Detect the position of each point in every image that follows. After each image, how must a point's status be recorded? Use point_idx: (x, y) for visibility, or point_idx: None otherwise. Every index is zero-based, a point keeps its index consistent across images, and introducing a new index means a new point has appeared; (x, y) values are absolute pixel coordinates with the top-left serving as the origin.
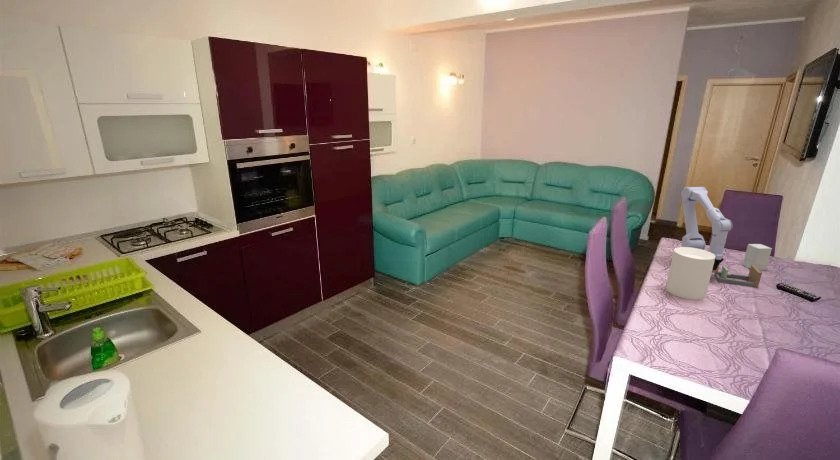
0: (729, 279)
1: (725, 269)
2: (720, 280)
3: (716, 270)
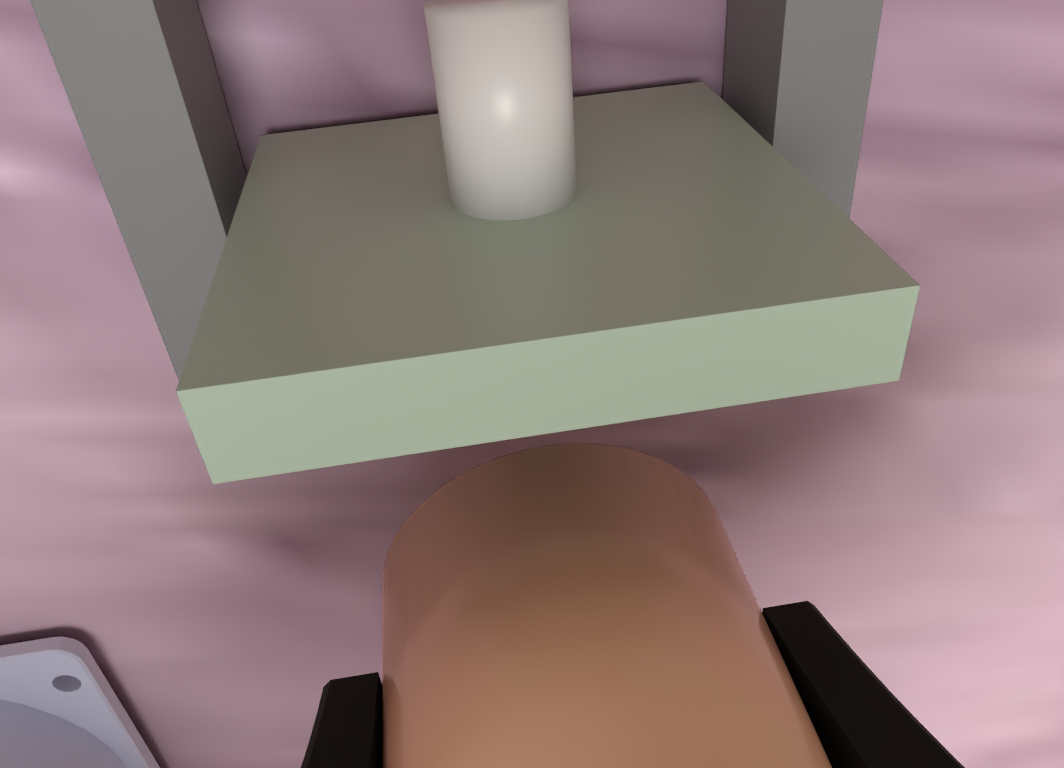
0: (846, 27)
1: (786, 390)
2: None
3: (729, 559)
